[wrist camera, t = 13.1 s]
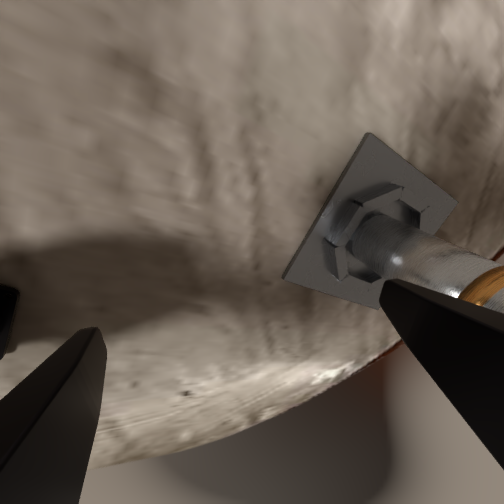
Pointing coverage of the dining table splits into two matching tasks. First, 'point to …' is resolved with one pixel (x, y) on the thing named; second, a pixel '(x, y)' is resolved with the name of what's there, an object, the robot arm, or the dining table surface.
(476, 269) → the grey cylindrical piece
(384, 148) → the flange
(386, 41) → the dining table surface
